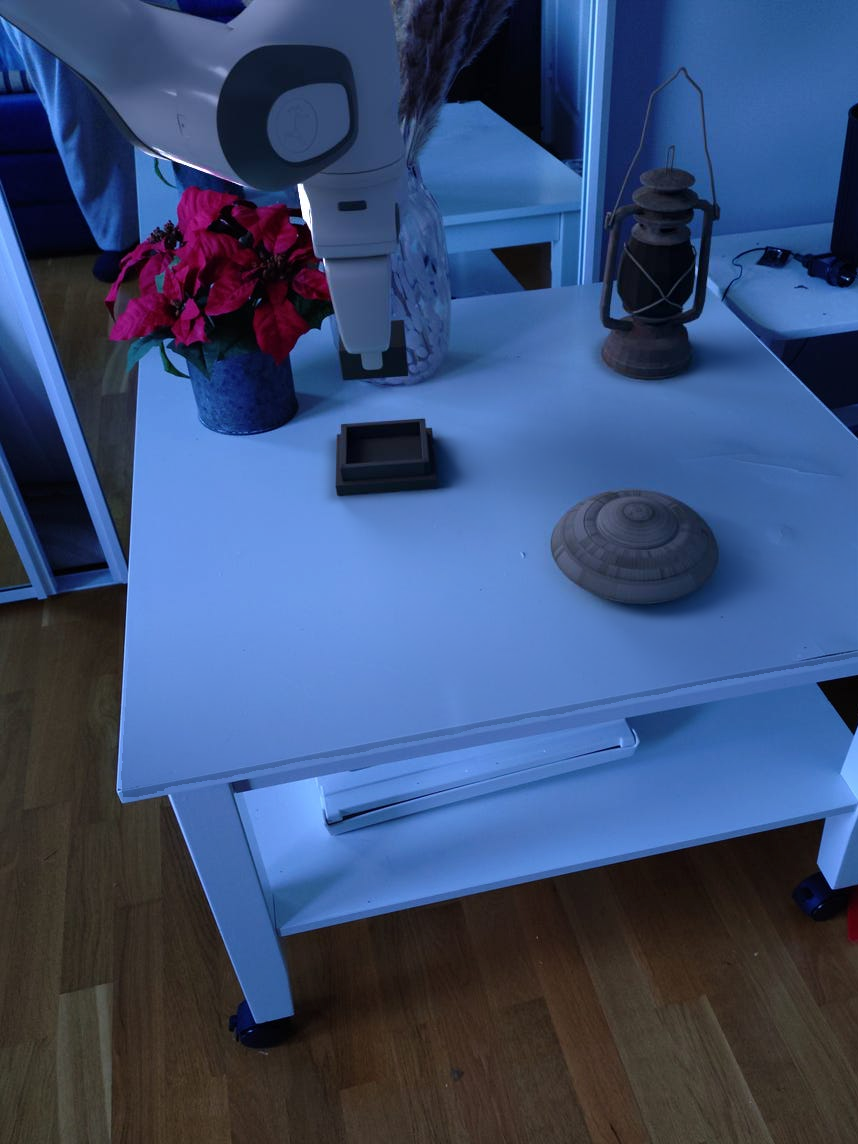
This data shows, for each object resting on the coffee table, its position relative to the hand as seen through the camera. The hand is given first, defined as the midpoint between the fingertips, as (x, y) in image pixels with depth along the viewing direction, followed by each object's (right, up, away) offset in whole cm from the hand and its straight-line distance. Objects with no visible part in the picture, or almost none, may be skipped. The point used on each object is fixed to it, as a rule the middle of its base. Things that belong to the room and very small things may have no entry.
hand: (372, 348), depth 85 cm
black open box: (0, -9, +10) cm, 13 cm away
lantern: (+29, +6, +24) cm, 39 cm away
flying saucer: (+24, -19, -1) cm, 31 cm away
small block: (0, -1, +1) cm, 2 cm away
